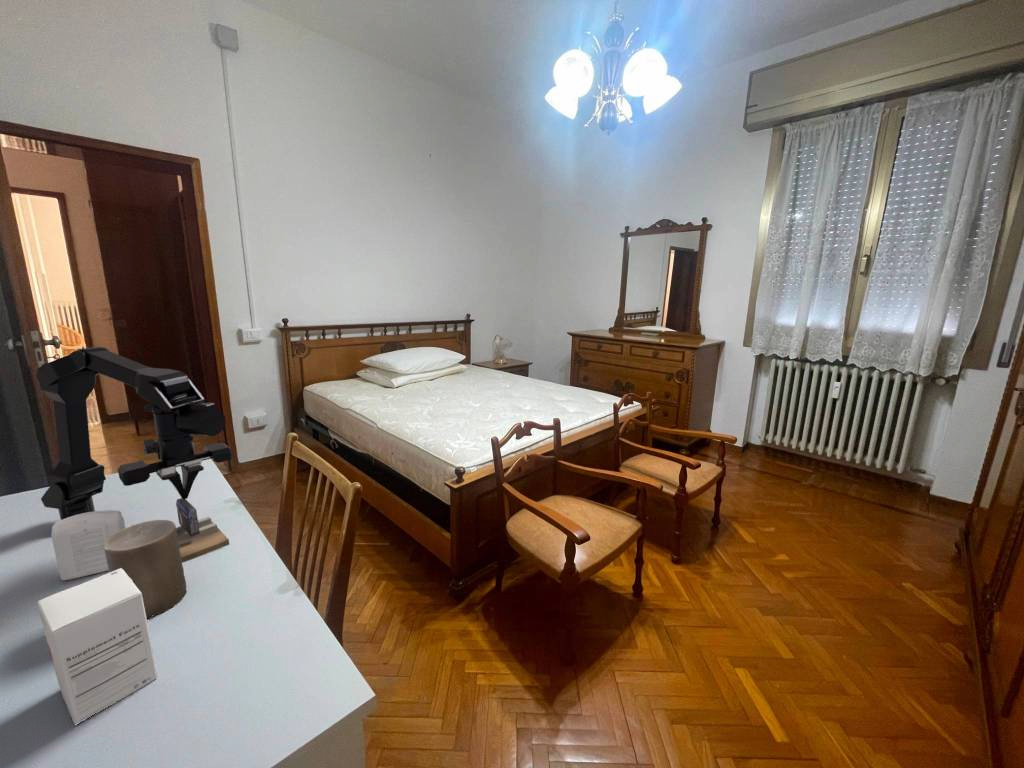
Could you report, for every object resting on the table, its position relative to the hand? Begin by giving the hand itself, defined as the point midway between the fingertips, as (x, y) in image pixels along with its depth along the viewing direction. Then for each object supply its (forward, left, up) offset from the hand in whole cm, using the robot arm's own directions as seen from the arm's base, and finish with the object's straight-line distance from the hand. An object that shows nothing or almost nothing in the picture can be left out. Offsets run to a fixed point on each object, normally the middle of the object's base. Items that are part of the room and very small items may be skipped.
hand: (184, 498), depth 92 cm
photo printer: (-2, -15, -10) cm, 18 cm away
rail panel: (+1, -1, -10) cm, 10 cm away
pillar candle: (+17, -10, -10) cm, 22 cm away
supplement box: (+33, -18, -10) cm, 39 cm away
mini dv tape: (0, 0, -8) cm, 8 cm away
